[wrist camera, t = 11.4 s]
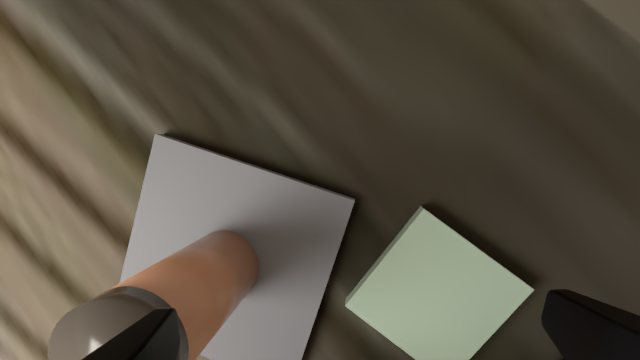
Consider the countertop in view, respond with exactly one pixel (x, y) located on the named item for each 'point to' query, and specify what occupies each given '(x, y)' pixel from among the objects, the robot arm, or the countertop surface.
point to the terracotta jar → (166, 298)
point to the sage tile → (436, 292)
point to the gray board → (253, 225)
